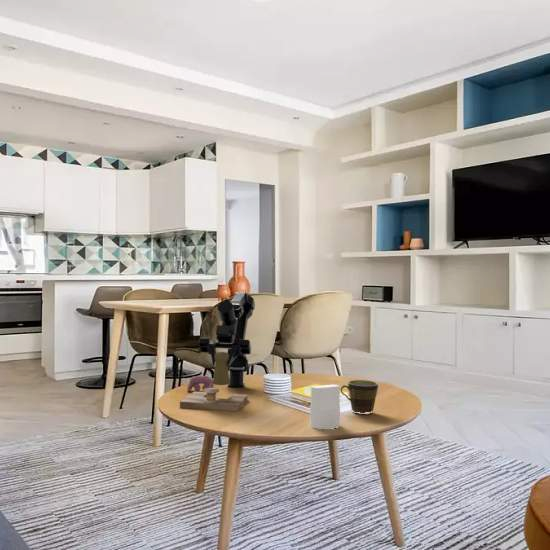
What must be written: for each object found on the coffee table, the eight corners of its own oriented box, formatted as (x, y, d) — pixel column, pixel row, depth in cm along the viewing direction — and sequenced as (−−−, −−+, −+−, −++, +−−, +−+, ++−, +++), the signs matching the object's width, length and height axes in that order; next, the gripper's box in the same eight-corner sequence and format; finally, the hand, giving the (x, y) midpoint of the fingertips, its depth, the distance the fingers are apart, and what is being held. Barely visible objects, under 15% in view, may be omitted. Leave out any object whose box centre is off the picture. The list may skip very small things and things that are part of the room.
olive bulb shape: (227, 381, 195) (228, 350, 195) (231, 384, 189) (232, 353, 189) (211, 381, 193) (211, 351, 193) (214, 385, 187) (215, 354, 187)
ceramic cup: (369, 408, 187) (370, 379, 187) (382, 415, 177) (383, 385, 177) (334, 410, 184) (335, 380, 184) (346, 417, 174) (347, 386, 174)
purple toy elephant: (213, 395, 208) (215, 377, 211) (211, 392, 204) (213, 374, 207) (188, 394, 209) (190, 376, 212) (185, 391, 205) (188, 373, 208)
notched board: (194, 396, 197) (194, 380, 197) (247, 400, 194) (248, 383, 194) (179, 407, 181) (180, 389, 181) (237, 411, 178) (238, 393, 178)
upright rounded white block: (328, 420, 170) (329, 382, 170) (345, 427, 162) (346, 388, 162) (304, 423, 166) (305, 384, 166) (320, 431, 158) (321, 390, 158)
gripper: (199, 315, 196) (190, 350, 185) (250, 317, 194) (244, 353, 183) (204, 334, 204) (196, 369, 193) (253, 336, 202) (247, 371, 191)
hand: (220, 365), depth 190 cm, fingers closed on olive bulb shape, 5 cm apart
